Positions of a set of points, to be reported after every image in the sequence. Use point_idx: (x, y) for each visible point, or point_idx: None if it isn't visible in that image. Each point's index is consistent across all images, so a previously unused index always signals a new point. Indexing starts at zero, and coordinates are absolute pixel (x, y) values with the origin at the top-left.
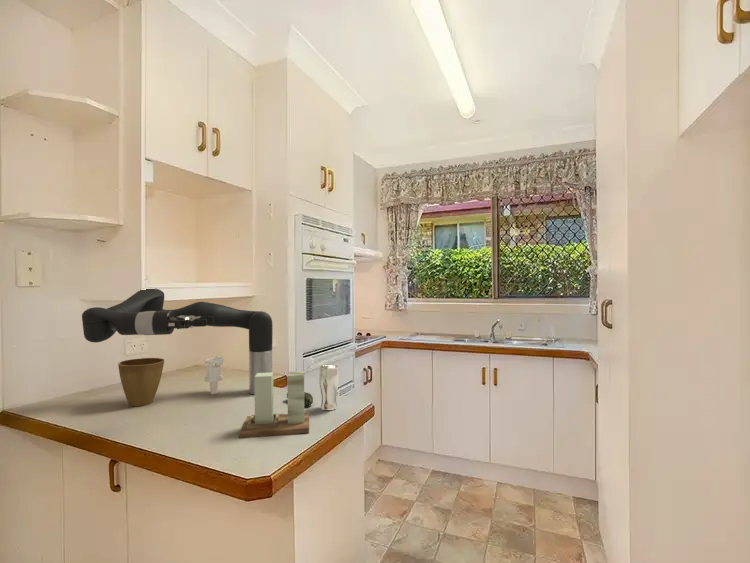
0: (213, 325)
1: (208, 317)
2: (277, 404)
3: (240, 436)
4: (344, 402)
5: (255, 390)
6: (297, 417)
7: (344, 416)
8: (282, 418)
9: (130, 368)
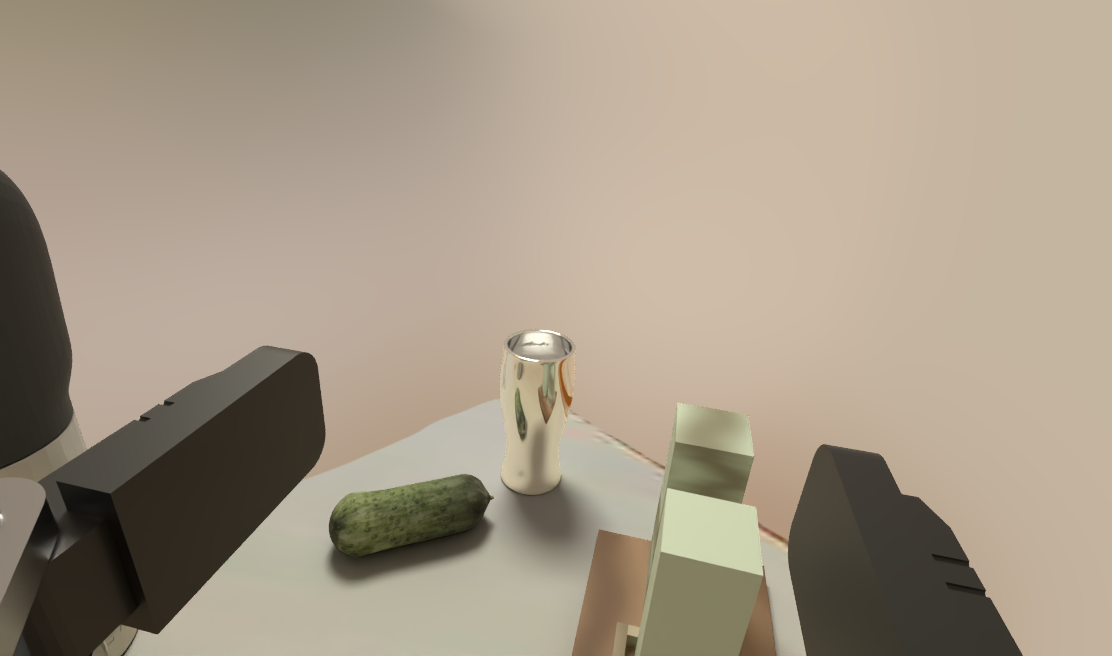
0: None
1: (257, 394)
2: (365, 610)
3: None
4: (494, 431)
5: (744, 630)
6: None
7: (626, 465)
8: (636, 623)
9: None
